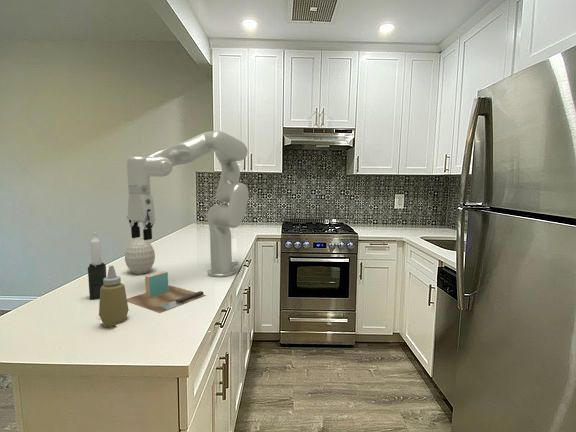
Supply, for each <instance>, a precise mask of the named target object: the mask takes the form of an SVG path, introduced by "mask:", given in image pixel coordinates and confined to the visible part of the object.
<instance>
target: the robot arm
mask: <svg viewBox="0 0 576 432" xmlns="http://www.w3.org/2000/svg"><path fill="white" fill-rule="evenodd" d="M213 152H215V153H214V154H215V156H216V159H217V160H218V162H219V165H220V168H221V173H220V178H219V182H218V184H217V185H218V186H217V190H216V192H215V193H216V194H215V195H216V200H218V201H219V202H221V203H224V204H214V205H213V206H211V207H209V209H208V211H207V215H206V217H207V222H208V227H209V242H210V243H209V246H210V247H209V248H210V269H208V270H207V275H208V276H211V277H216V278H218V277H220V278H222V277H229V276H233V275H234V274H235V273H236V269H235V268H234V267H236V266H238V265H239V262H238V261H234V262H233V260H232V256H233V255H232V251H233V250H232V231H231V229H230V228H232V229H233V228H237V227H239V226H241V224H242V222H243V220H244V216H245V213H246V209H247V205H248V200H249V195H250V194H249V188H248V186H247V185H246V184H244V183H243V182H240V177H241V170H240V167H239V165H238V162H240V161H243V160H245V159H246V158H247V156H248V153H249V151H248V147H247V145H246V144H245V143H244V142H243V141H241V140H240V139H238V138H235V137H234V136H232V135H230V134H228V133H226V132H224V131H221V130H212V131H205V132H202V133H200V134H198V135H196V136H194V137H191V138H190V139H187V140H184V141H182V142H180V143H177V144H175V145H172V146H170V147H167V148H165V149H162V150H159V151H156V152H154V153H152V154H150V155H148V156H137V155H135V156H133V155H132V156H128V157H127V158H126V175H127V191H128V192H127V193H128V200H127V212H128V214H127V216H126V218H127V220H128V223H129V227H130V231H131V239H134V238H138V237H140V236H141V227H140V226H139V225H140V223H142V225H143V229H142V231H143V233H142V237H143V238H144V240H147V241H149V240H152V239H153V230H152V229H153V227H154V226H155V225H154V224H155V222H156V220H157V219H156V215H155V213H156V212H155V205H154V204H155V203H154V200H153V195H152V192H151V191H152V190H151V177H158V178H159V177H161V178H162V177H167V176H169V175H170V174H171V172H172V171H173V168H174V166H180V165H185V164H188V163H189V164H190V163H193V162H194V161H196V160H199V159H200V158H202V157H204V156H205V155H206V156H207V155H208V154H209V153H213ZM226 204H228V205H226Z"/></svg>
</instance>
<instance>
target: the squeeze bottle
mask: <svg viewBox="0 0 576 432" xmlns="http://www.w3.org/2000/svg"><path fill="white" fill-rule="evenodd" d="M103 283H104V285H103V286H102V287H101V288H100V299H99V304H98V305H99V306H98V310H99V311H98V317H99V318H100V320H101V322H102V325H103V326H104V327H106V328H117V326H116V325H117V324H121V323H122V322H124V321H126V319H127V318H128V317H127V316H128V313H129V310H130V309H129V305H128V303H129V302H127V299H128V298H127V293H126V292H127V291H126V287H125V284H124V283H122V279H121V276H119V275H117V272H116V270H115V267H114V265H109V266H108V271H107V274H106V278H104V279H103Z"/></svg>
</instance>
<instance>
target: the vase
mask: <svg viewBox="0 0 576 432" xmlns="http://www.w3.org/2000/svg"><path fill="white" fill-rule="evenodd" d="M155 254H156V252H155V250H154V248H153V245H152V244H151V243H150V242H149V240H144V238H143V235H140V237H138V238H133V240H131V242H130V243H129V244H128V245H127V246H126V250H125V252H124V262H125V265H126V267H127V268H128V270H129V271H130V272H131V273H133V274H134V275H143V273H145V274H147V273H149V272H150V270H151V269H152V267H153V265H154V264H155V259H156V255H155Z"/></svg>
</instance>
